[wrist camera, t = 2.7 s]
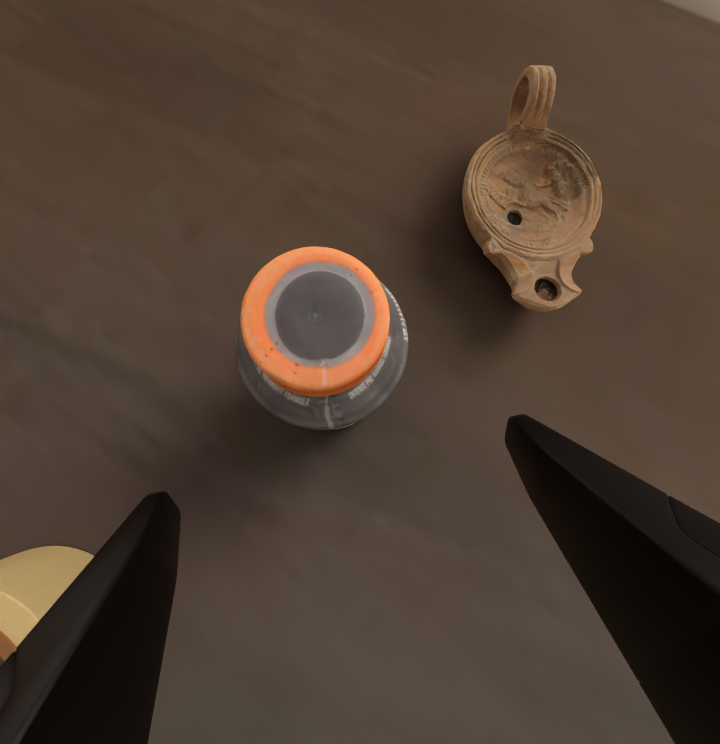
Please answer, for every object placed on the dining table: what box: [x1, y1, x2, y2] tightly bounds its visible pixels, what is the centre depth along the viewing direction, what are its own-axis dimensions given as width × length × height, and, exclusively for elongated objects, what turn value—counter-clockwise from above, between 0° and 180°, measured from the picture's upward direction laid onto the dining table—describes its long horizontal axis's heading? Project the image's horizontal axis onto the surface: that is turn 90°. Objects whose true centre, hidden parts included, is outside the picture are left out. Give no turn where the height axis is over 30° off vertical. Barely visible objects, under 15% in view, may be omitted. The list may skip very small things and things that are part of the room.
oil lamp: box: [462, 65, 602, 312], centre depth 20 cm, size 13×8×5 cm, turn 179°
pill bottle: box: [235, 247, 408, 430], centre depth 15 cm, size 6×6×11 cm
